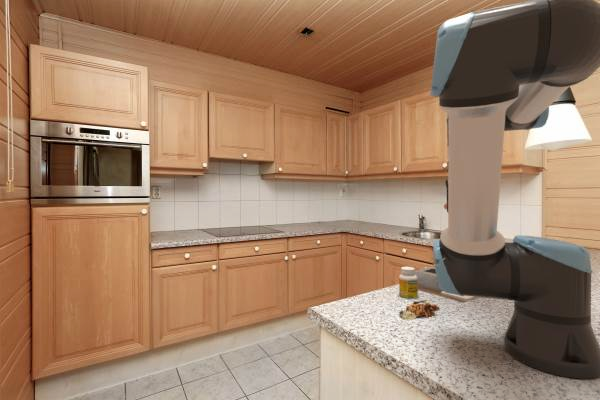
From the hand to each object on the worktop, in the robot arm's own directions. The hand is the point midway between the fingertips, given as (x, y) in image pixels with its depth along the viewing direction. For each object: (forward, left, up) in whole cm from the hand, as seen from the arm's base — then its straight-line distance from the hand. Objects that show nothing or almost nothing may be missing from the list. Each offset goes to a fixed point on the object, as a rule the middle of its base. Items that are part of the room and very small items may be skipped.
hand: (461, 234), depth 94 cm
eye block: (+1, +9, -19) cm, 21 cm away
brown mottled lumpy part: (-22, 0, -20) cm, 30 cm away
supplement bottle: (-14, +9, -20) cm, 26 cm away
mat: (0, 0, -19) cm, 19 cm away
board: (+1, +5, -20) cm, 20 cm away
